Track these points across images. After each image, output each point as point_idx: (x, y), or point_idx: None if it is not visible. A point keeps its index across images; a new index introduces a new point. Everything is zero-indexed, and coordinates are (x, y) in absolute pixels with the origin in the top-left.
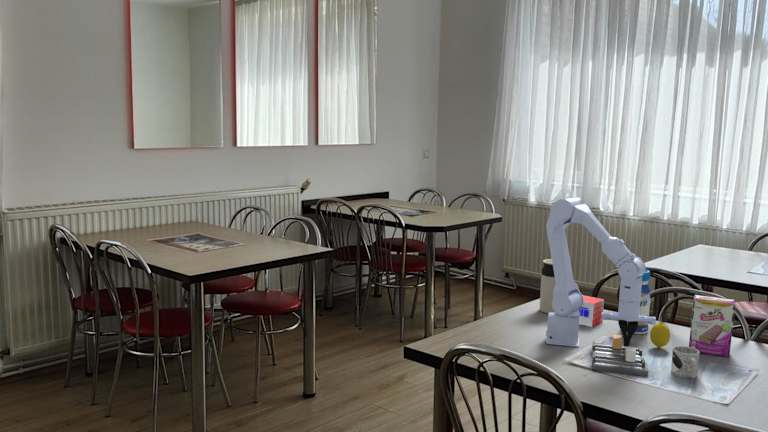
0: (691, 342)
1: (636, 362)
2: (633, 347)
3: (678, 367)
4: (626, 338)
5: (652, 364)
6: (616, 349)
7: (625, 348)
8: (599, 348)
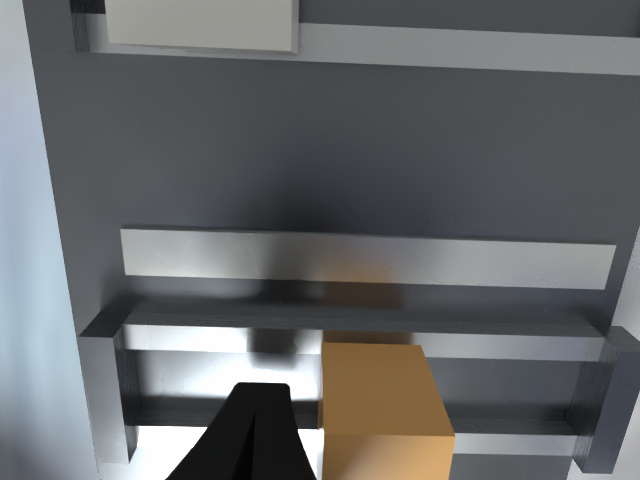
0: None
1: None
2: (140, 23)
3: None
4: (257, 455)
5: (11, 191)
6: None
7: None
8: (558, 336)
